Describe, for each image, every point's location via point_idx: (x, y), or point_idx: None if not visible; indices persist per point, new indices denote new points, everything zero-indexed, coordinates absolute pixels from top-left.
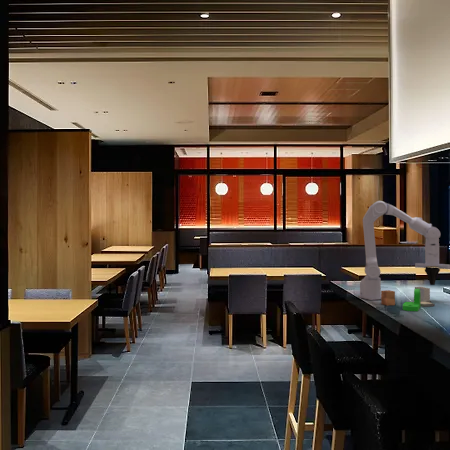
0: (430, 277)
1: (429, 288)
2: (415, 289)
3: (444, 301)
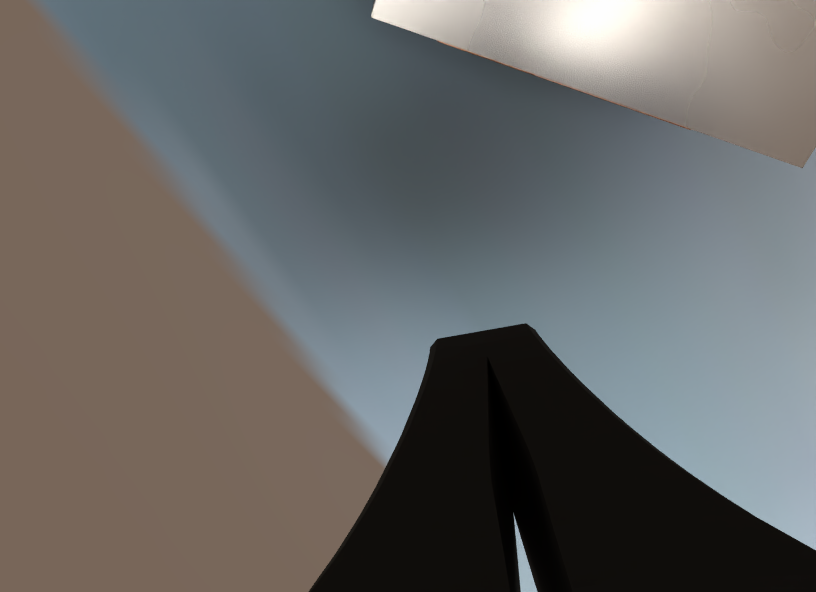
0: (540, 466)
1: (376, 4)
2: None
3: (328, 361)
